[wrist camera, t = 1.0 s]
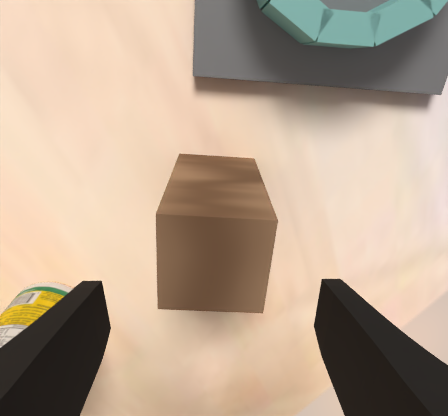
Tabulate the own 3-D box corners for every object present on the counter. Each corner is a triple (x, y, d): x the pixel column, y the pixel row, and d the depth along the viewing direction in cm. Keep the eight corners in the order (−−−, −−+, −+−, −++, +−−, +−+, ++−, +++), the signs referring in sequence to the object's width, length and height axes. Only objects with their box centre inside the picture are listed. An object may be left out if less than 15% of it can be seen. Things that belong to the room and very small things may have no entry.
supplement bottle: (26, 268, 22) (-101, 408, 13) (103, 294, 23) (33, 439, 14) (11, 322, 24) (-107, 474, 15) (83, 343, 25) (11, 497, 16)
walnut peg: (254, 158, 19) (277, 220, 12) (246, 224, 21) (262, 313, 13) (179, 153, 19) (155, 213, 11) (178, 220, 20) (157, 309, 13)
